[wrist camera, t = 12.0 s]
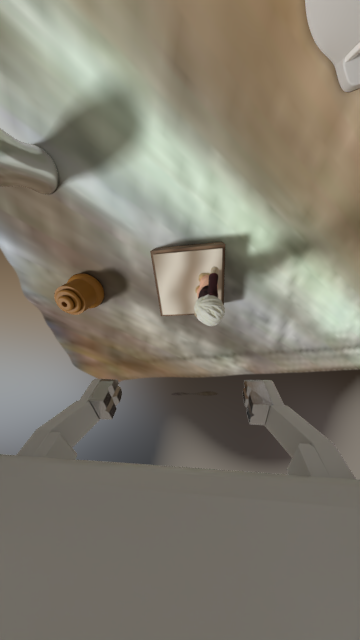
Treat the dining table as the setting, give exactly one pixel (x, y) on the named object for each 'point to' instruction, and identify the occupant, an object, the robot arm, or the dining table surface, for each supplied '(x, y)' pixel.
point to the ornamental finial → (79, 294)
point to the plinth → (185, 274)
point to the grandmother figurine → (209, 299)
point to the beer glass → (26, 166)
